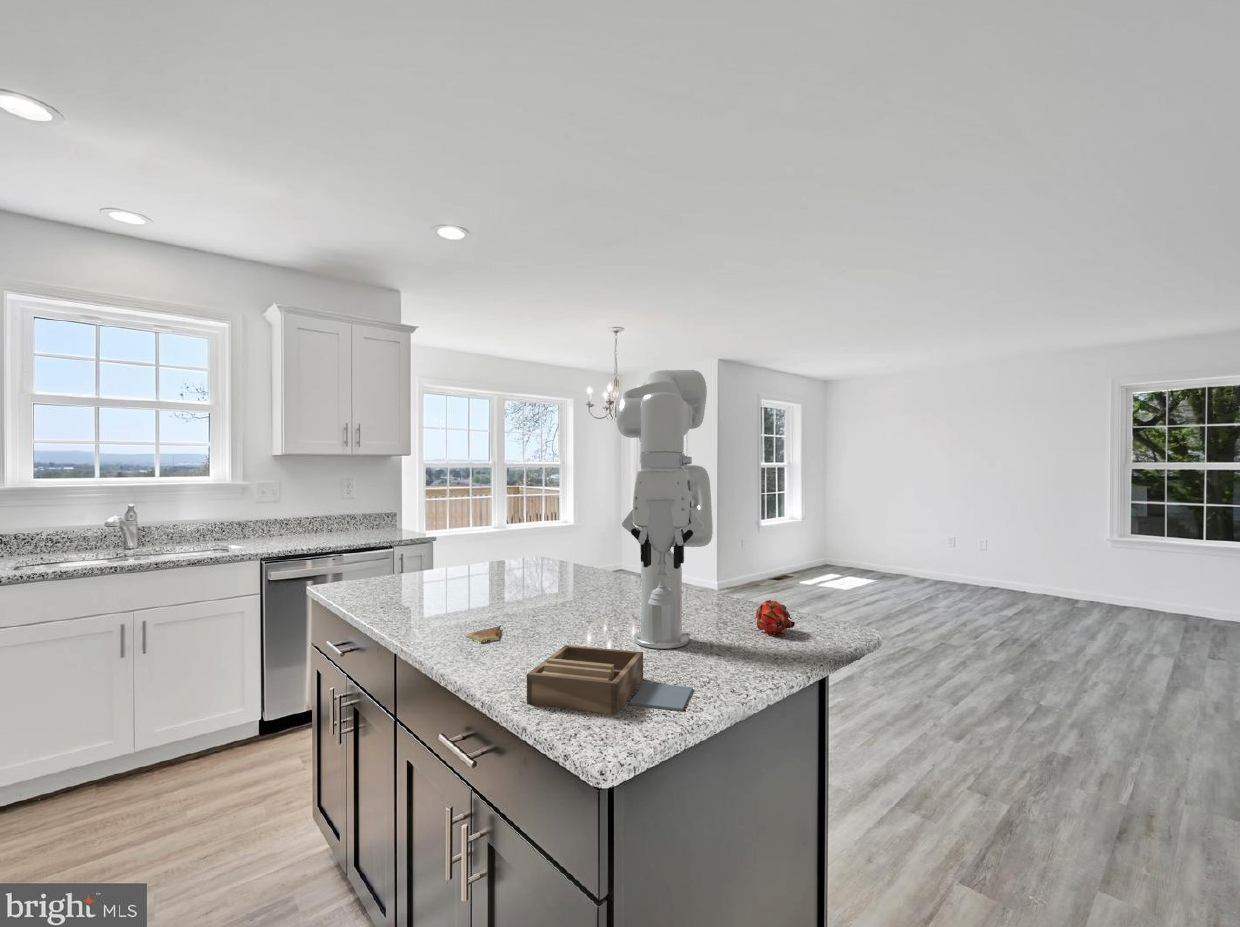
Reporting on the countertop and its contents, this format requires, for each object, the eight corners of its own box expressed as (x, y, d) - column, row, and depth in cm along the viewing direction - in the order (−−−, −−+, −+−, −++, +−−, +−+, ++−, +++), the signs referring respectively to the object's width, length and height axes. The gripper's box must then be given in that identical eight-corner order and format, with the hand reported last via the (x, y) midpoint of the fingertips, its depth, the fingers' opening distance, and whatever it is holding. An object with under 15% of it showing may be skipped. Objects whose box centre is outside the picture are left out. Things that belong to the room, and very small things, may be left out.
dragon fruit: (767, 632, 150) (784, 653, 138) (742, 613, 148) (756, 633, 137) (787, 606, 149) (806, 625, 137) (762, 587, 148) (778, 605, 136)
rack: (565, 670, 116) (565, 645, 116) (643, 678, 111) (643, 652, 111) (526, 703, 99) (526, 674, 99) (616, 714, 94) (616, 683, 94)
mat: (644, 684, 108) (644, 682, 108) (692, 689, 105) (692, 687, 105) (630, 704, 98) (630, 702, 98) (682, 711, 96) (682, 708, 96)
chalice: (635, 599, 104) (635, 499, 104) (669, 596, 107) (669, 498, 107) (654, 608, 97) (654, 500, 98) (689, 605, 100) (689, 500, 100)
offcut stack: (549, 695, 103) (549, 658, 103) (614, 702, 100) (614, 664, 100) (541, 702, 100) (541, 664, 100) (607, 710, 96) (607, 671, 96)
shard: (500, 631, 146) (500, 624, 146) (520, 636, 141) (520, 629, 141) (464, 640, 138) (464, 633, 138) (483, 647, 133) (483, 639, 133)
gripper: (713, 463, 104) (713, 566, 103) (622, 464, 108) (622, 561, 108) (707, 462, 96) (707, 572, 96) (609, 463, 101) (609, 568, 101)
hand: (662, 565), depth 102 cm, fingers closed on chalice, 4 cm apart
